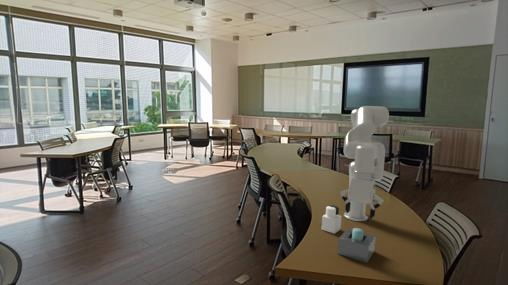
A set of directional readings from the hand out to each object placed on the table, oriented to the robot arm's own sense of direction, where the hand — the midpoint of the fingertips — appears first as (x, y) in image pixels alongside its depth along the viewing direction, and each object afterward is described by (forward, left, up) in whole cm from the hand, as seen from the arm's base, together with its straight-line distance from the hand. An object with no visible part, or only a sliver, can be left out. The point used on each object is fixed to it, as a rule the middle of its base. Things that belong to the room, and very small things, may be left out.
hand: (359, 214), depth 129 cm
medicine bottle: (-15, -17, -17) cm, 28 cm away
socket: (+1, 0, -17) cm, 17 cm away
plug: (+1, 0, -17) cm, 17 cm away
